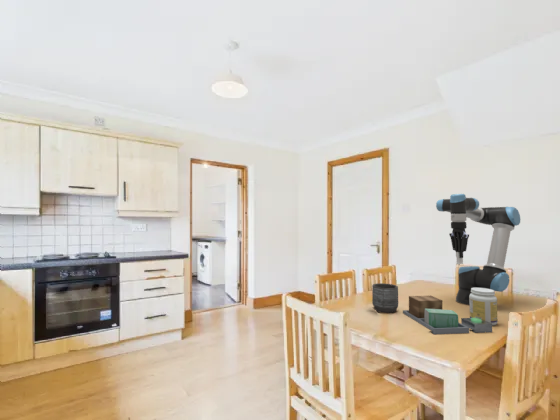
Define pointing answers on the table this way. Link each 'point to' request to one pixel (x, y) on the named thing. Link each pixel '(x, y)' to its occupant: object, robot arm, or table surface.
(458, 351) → the table surface
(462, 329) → the grey divided tray
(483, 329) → the square metal sleeve
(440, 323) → the box
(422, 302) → the walnut block
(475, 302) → the supplement tub
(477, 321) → the button
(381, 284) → the planter
